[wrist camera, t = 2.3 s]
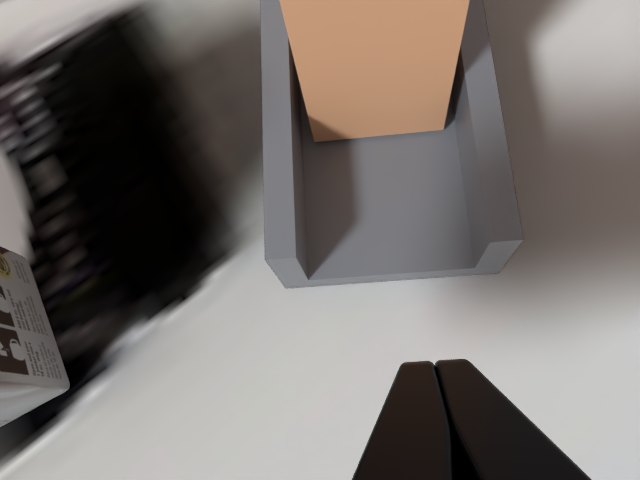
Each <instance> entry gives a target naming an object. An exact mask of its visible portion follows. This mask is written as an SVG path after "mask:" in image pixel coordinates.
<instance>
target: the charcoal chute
mask: <svg viewBox="0 0 640 480" xmlns="http://www.w3.org/2000/svg"><path fill="white" fill-rule="evenodd" d="M260 14H261V72H262V129H263V187H264V244H265V261H266V262H267V264H268V265H269V266H270V268H271V269H272V270H273V272H274V273H275V275H276V276H277V277H278V279H279V280H280V281H281V283H282V284H283V286H284V287H285V288H299V287H313V286H327V285H341V284H355V283H368V282H382V281H396V280H410V279H424V278H438V277H451V276H465V275H479V274H493V273H499V272H500V270H501V269H502V268H503V266H504V265H505V264H506V262H507V261H508V260H509V258H510V257H511V256H512V255H513V253H514V252H515V251H516V249H517V248H518V247H519V245H520V244H521V243H522V241H523V240H524V239H523V233H522V227H521V221H520V216H519V210H518V204H517V198H516V192H515V186H514V180H513V175H512V169H511V163H510V157H509V151H508V145H507V139H506V134H505V128H504V122H503V116H502V110H501V104H500V98H499V93H498V87H497V81H496V75H495V69H494V63H493V57H492V52H491V46H490V40H489V34H488V28H487V22H486V16H485V11H484V5H483V0H470V1H469V6H468V11H467V16H466V21H465V26H464V31H463V35H462V40H461V45H460V50H459V55H458V60H457V65H456V70H455V75H454V80H453V85H452V90H451V95H450V100H449V105H448V110H447V115H446V120H445V124H444V129H443V130H437V131H426V132H416V133H405V134H395V135H384V136H374V137H363V138H353V139H342V140H332V141H321V142H314V139H313V135H312V130H311V126H310V122H309V118H308V114H307V110H306V106H305V102H304V98H303V94H302V90H301V86H300V82H299V78H298V74H297V70H296V66H295V62H294V58H293V54H292V50H291V46H290V42H289V38H288V34H287V30H286V26H285V21H284V17H283V13H282V9H281V5H280V1H279V0H260Z"/></svg>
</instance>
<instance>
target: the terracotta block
mask: <svg viewBox="0 0 640 480" xmlns="http://www.w3.org/2000/svg"><path fill="white" fill-rule="evenodd" d="M279 1H280V5H281V9H282V13H283V17H284V21H285V26H286V30H287V34H288V38H289V42H290V46H291V50H292V54H293V58H294V62H295V66H296V70H297V74H298V78H299V82H300V86H301V90H302V94H303V98H304V102H305V106H306V110H307V114H308V118H309V122H310V126H311V130H312V135H313V139H314V142H321V141H332V140H342V139H353V138H363V137H374V136H384V135H395V134H405V133H416V132H426V131H437V130H443V129H444V124H445V120H446V115H447V110H448V105H449V100H450V95H451V90H452V85H453V80H454V75H455V70H456V65H457V60H458V55H459V50H460V45H461V40H462V35H463V31H464V26H465V21H466V16H467V11H468V6H469V1H470V0H279Z"/></svg>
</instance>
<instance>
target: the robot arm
mask: <svg viewBox="0 0 640 480" xmlns="http://www.w3.org/2000/svg"><path fill="white" fill-rule="evenodd" d="M352 480H591V479H590V478H589V477H588V476H587V475H586V474H585V473H584V472H583V471H582V470H581V469H580V468H579V467H578V466H577V465H576V464H575V463H574V462H573V461H572V460H571V459H570V458H569V457H568V456H567V455H566V454H565V453H564V452H563V451H561V450H560V449H559V448H558V447H557V446H556V445H555V444H554V443H553V442H552V441H551V440H550V439H549V438H548V437H547V436H546V435H545V434H544V433H543V432H542V431H541V430H540V429H539V428H538V427H537V426H536V425H535V424H534V423H533V422H532V421H530V420H529V419H528V418H527V417H526V416H525V415H524V414H523V413H522V412H521V411H520V410H519V409H518V408H517V407H516V406H515V405H514V404H513V403H512V402H511V401H510V400H509V399H508V398H507V397H506V396H505V395H504V394H503V393H502V392H501V391H499V390H498V389H497V388H496V387H495V386H494V385H493V384H492V383H491V382H490V381H489V380H488V379H487V378H486V377H485V376H484V375H483V374H482V373H481V372H480V371H479V370H478V369H477V368H476V367H475V366H474V365H473V364H472V363H471V362H469V361H468V360H466V359H453V360H439V361H437V362H436V363H435V366H434V364H433V363H432V362H430V361H419V362H405V363H403V364H402V365H401V366H400V368H399V370H398V372H397V374H396V377H395V379H394V381H393V384H392V386H391V389H390V391H389V393H388V396H387V398H386V400H385V403H384V405H383V407H382V410H381V412H380V414H379V417H378V419H377V421H376V424H375V426H374V429H373V431H372V433H371V436H370V438H369V440H368V443H367V445H366V447H365V450H364V452H363V454H362V457H361V459H360V461H359V464H358V466H357V469H356V471H355V473H354V476H353V478H352Z"/></svg>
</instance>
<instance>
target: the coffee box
mask: <svg viewBox="0 0 640 480" xmlns="http://www.w3.org/2000/svg"><path fill="white" fill-rule="evenodd" d="M69 387H70V383H69V379H68V377H67V374H66V371H65V368H64V365H63V361H62V358H61V356H60V353H59V350H58V347H57V344H56V341H55V338H54V335H53V332H52V329H51V326H50V323H49V320H48V317H47V314H46V312H45V309H44V306H43V303H42V300H41V297H40V294H39V291H38V288H37V285H36V282H35V279H34V277H33V274H32V271H31V268H30V266H29V264H28V261H27V260H26V259H25V258H24V257H22V256H20V255H18V254H16V253H14V252H12V251H9V250H7V249H5V248H2V247H0V427H1V426H3V425H5V424H7V423H9V422H10V421H12V420H14V419H16V418H18V417H20V416H21V415H23V414H25V413H27V412H29V411H30V410H32V409H34V408H36V407H38V406H39V405H41V404H43V403H45V402H47V401H49V400H51V399H53V398H55V397H56V396H58V395H60V394H62V393H64V392H66V391H67V390H68V389H69Z"/></svg>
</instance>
